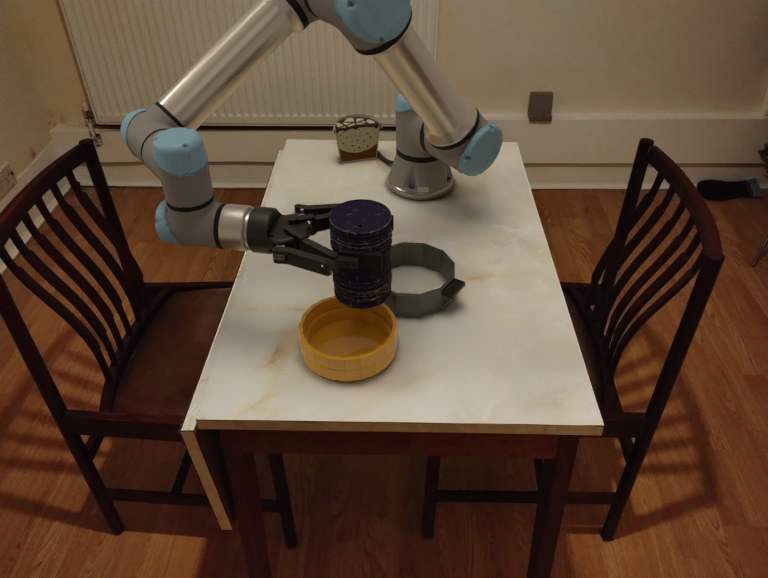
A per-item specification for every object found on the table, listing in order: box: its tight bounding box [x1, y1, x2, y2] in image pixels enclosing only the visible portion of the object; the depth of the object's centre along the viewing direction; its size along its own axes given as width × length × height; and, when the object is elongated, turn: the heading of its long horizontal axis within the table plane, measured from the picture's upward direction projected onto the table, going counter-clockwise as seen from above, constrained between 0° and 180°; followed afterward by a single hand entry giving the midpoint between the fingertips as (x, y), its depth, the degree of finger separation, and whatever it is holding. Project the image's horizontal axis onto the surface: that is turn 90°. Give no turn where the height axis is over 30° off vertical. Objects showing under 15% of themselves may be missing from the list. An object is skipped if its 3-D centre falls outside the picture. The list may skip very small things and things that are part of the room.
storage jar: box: [329, 198, 393, 309], centre depth 107 cm, size 10×10×15 cm
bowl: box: [298, 295, 398, 382], centre depth 114 cm, size 16×16×6 cm
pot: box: [384, 241, 466, 318], centre depth 126 cm, size 21×16×5 cm
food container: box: [332, 113, 383, 164], centre depth 167 cm, size 12×6×10 cm, turn 105°
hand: (387, 241), depth 105 cm, fingers closed on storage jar, 10 cm apart
